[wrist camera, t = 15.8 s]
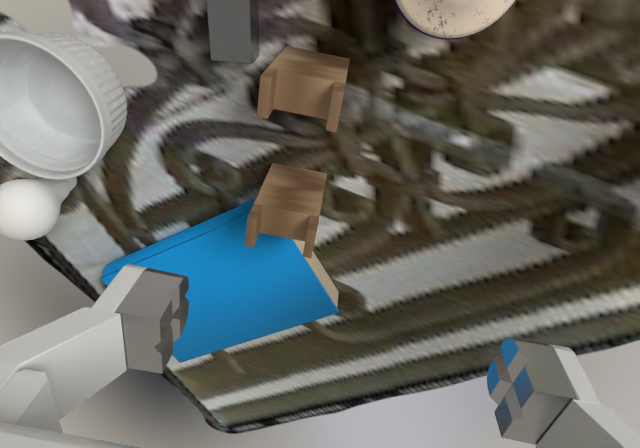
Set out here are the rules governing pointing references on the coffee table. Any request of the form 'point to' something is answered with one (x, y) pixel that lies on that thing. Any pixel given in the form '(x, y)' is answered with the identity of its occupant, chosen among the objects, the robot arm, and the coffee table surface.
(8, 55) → the ramekin
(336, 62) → the post
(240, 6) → the rail
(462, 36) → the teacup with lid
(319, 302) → the book
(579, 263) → the coffee table surface
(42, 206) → the lightbulb
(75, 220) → the coffee table surface
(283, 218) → the post
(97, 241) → the coffee table surface
